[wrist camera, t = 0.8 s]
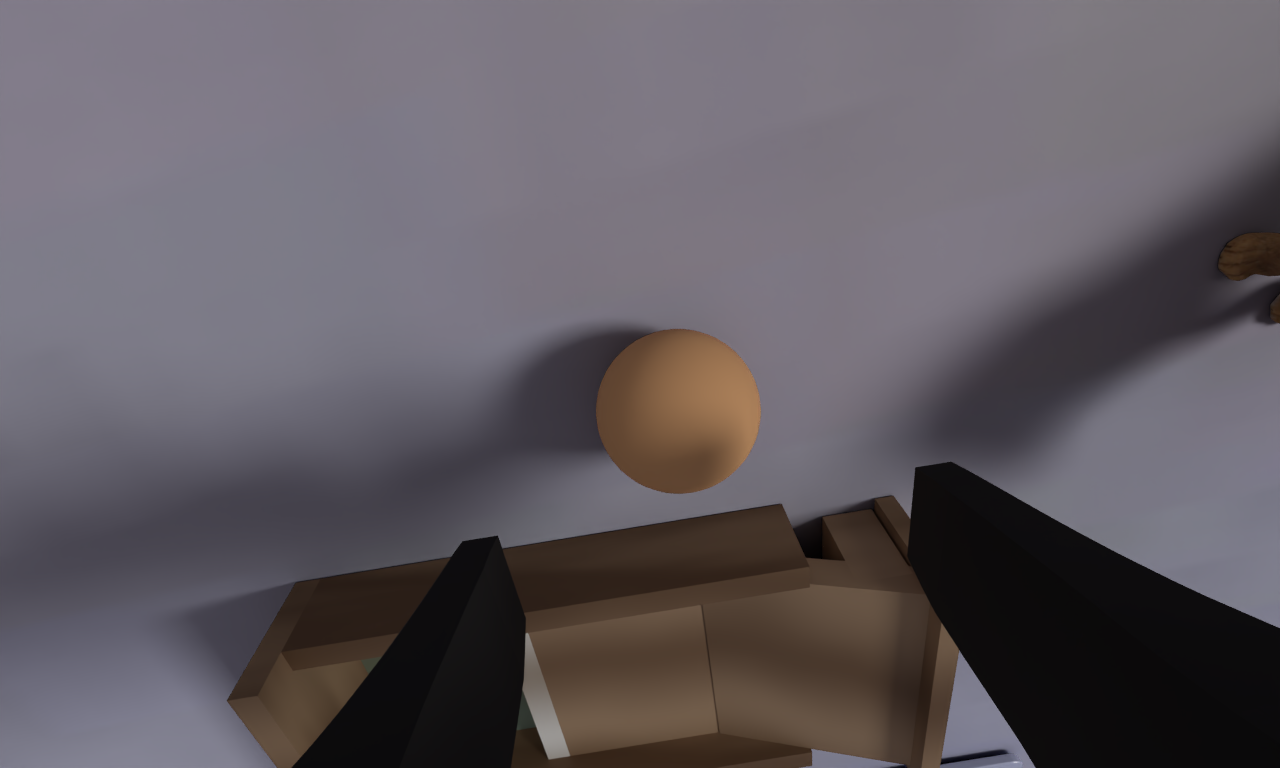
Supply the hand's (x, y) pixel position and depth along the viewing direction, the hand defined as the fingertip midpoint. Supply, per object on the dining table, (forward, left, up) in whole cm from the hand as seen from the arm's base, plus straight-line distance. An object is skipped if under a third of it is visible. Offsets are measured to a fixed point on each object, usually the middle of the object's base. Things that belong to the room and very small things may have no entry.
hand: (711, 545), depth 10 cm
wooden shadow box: (-10, +3, -7) cm, 12 cm away
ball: (0, 0, -5) cm, 5 cm away
